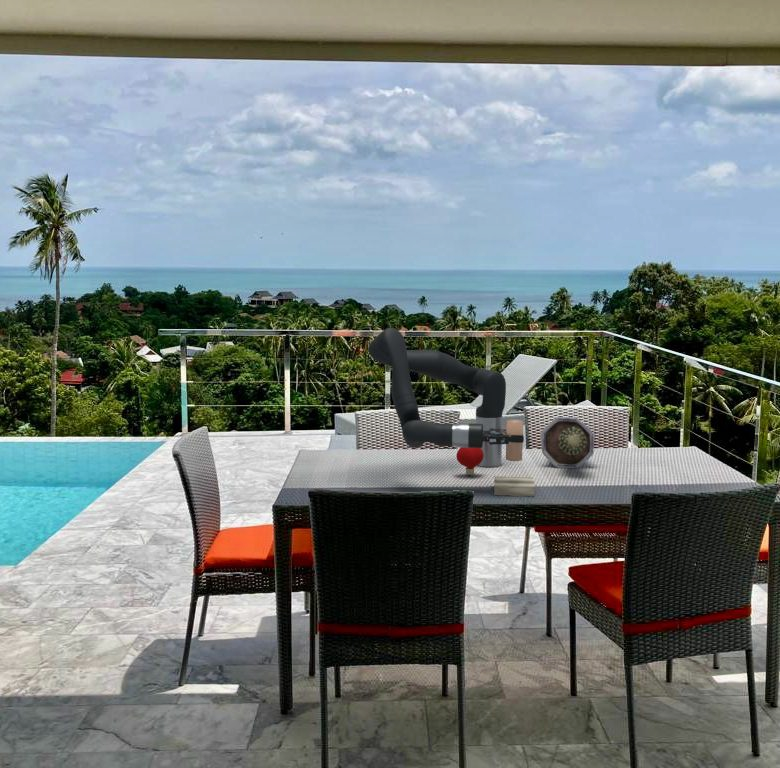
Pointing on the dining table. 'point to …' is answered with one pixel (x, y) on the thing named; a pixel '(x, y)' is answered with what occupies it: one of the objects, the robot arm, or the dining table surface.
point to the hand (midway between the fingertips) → (523, 437)
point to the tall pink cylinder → (512, 448)
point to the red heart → (470, 458)
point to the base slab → (514, 486)
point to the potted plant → (567, 442)
